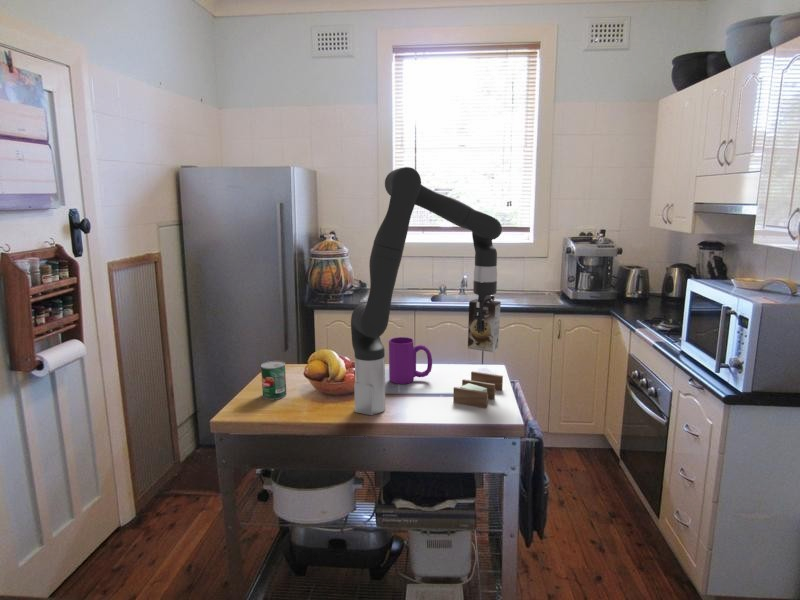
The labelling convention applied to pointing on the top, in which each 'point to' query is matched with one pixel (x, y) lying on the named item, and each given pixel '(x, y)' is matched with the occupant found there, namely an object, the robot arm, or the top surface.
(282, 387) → the canned tomato
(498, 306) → the coffee box
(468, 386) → the offcut upper
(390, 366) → the mug
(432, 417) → the top surface
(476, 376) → the rack
